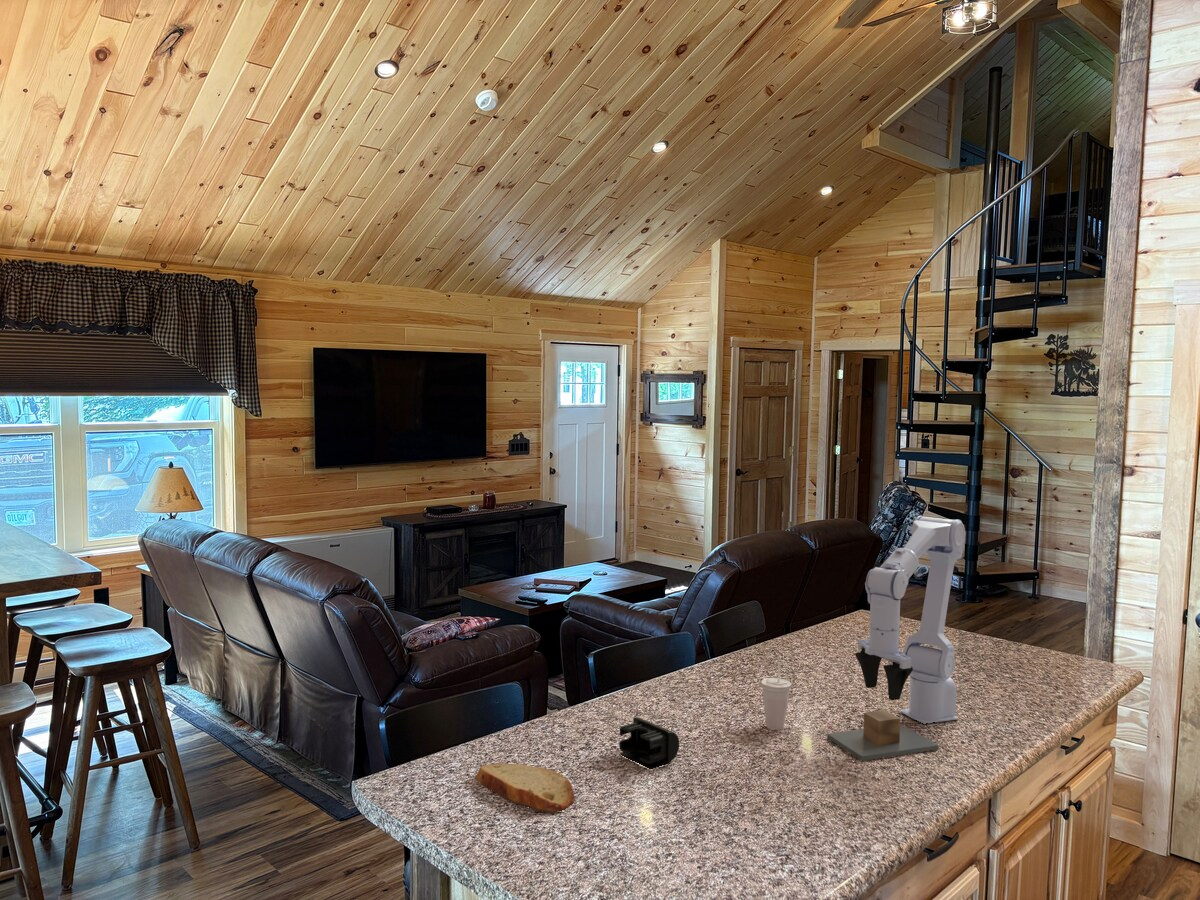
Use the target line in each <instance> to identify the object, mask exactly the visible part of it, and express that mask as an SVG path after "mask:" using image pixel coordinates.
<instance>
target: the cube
mask: <svg viewBox="0 0 1200 900" xmlns="http://www.w3.org/2000/svg"><path fill="white" fill-rule="evenodd" d="M900 724H901V718H900V717H898V716H897V715H894V713H891V712H889V711H887V710H885V709H883V710H875V711H874V710H873V711H867V712H863V729H864V732H863V737H865V738H867V739H868V740H870V741H872V742H873V743H875V744H877V745H878V746H880V745H887V744H894V743H899V739H900Z"/></svg>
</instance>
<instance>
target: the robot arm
mask: <svg viewBox="0 0 1200 900" xmlns="http://www.w3.org/2000/svg"><path fill="white" fill-rule="evenodd" d="M966 534H967V533H966V529H965V526H964V524H963V522H962V520H961V519H950V518H949V519H948V518H939V517H931V516H924V515H918V516H917V517H916V518H915V519H914V520H913V522H912V527H911V537H909V539H908V541H906V542H907V543H906V544H905V545H904V547H897V548H896V549H895V550H894V551H893V552H892V553H891V554H890V555H889V556H888V557H887V559H886V560H885V561H884V562H883V563H882V564H881V565H880V566H879V567H878V566H875V567H874V568H871V569H870V570H869V571H868V572H867V575H866V579H865V582H864V585H865V587H864V588H865V591H866V593H867V602H868V603H867V604H868V605H869V604H870V607H869V608H870V609H869V614H870V615H869V638H868V639H867V638H862V639H860V638H859V639H858V640H857V641H858V642H857V648H858V650H860V651H858V652H856V653H855V658H856V660H857V662H858V663H859V666H860V668H861V672H862V676H863V680H864V684H865V688H867V689H872V688H877V684H878V679H879V668H880V664H881V662H882V659H883V660H886V661H888V662H890V663H891V664H885V665H883V670H884V673H885V676H886V680H887V693H888V694H887V696H888V699H889V700H890V701H898V700H900V698H901V695H902V692H903V688H904V686H905V684H906V681H907V680H908V678H909V677H910V678H909V699H908V700H909V702H908V703H909V704H908V708H903V709H900V710H899V711H900V713H901V714H904V715H905V716H907V717H909V718H911V719H913V720H915V721H916V720H917V722H918V721H919V722H918V723H920V722H921V723H920V724H922V723H923V725H927V724H926V723H928V724H933V722H935V723H942V722H948V721H954V720H957V721H958V720H959V717H958V715H957V716H956V714H957V713H956V712H957V687H956V684H955V681H954V680H953V678H952V675H953V674H954V670H955V661H956V660H955V645H953V643H952V642H951V641H950V640H949V639H948V638H947V637H946V636H945V634H944V632H945V631H944V630H945V626H946V619H947V618H946V617H947V612H948V605H949V600H950V592H951V588H952V580H953V573H954V568H955V562H956V561H957V560H959V559H962V557H963V552H964V548H965V541H966ZM923 555H926V556H927V557H928V558H929V561H930V564H929V569H928V576H927V582H926V583H927V584H926V588H925V595H924V600H923V601H924V602H923V607H922V612H921V613H922V614H921V619H920V626H919V630H918V631H916V632H915V633H912V634H911V635H909V636H908V637H907V639H906V643H905V646H904V648H903V651H902V650H901V649H900V647H899V646H900V624H901V623H900V622H901V620H900V619H901V618H900V617H901V614H900V613H901V599H902V598H903V597H904V596H905V595H906V590H907V587H908V585H909V580H910V578H911V577H912V575H913V574H914V573H915V572H916V571H917V569H918V568H919V566H920V561H919V559H920V557H922V556H923ZM924 645H929V646H932V647H929V646H924ZM933 646H934V647H933ZM935 647H937V648H935Z"/></svg>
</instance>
